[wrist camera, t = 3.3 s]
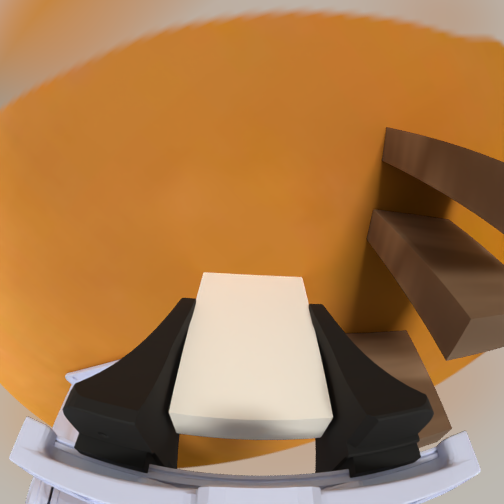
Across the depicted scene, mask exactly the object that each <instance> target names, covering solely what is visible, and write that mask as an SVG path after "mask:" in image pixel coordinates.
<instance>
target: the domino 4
mask: <svg viewBox="0 0 504 504" xmlns="http://www.w3.org/2000/svg"><path fill="white" fill-rule="evenodd" d="M345 334H346V335H347V336H348V337H349V338H350V339H351V341H352V342H353V343H354V344H355V345H356V346H357V347H358V348H359V349H360V350H361V351H362V352H363V353H364V354H365V355H366V356H367V357H369V358H370V359H371V360H372V361H373V362H374V363H375V364H377V365H378V366H379V367H381V368H382V369H383V370H385V371H386V372H387V373H389V374H390V375H392V376H393V377H395V378H396V379H398V380H399V381H401V382H403V383H404V384H406V385H408V386H409V387H411V388H413V389H416V390H418V391H420V392H422V393H424V394H426V395H427V397H428V399H429V402H430V404H431V406H432V409H433V412H434V415H433V417H432V419H431V421H430V422H429V423H428V424H427V425H426V426H425V427H424V428H423V429H422V430H421V431H420V432H419V433H418V435H419V438H420V441H419V442H418V443H417V445H418V448H420V447H423V446H426V445H429V444H432V443H435V442H437V441H438V440H440V439H441V438H442V437H443V436H444V435H445V434H446V433H447V432H448V431H450V430H451V429H452V427H451V425H450V422H449V420H448V417H447V415H446V413H445V410H444V408H443V406H442V403H441V401H440V399H439V396H438V394H437V392H436V389H435V387H434V385H433V383H432V381H431V379H430V376H429V374H428V372H427V370H426V368H425V366H424V364H423V362H422V360H421V358H420V356H419V354H418V352H417V350H416V348H415V346H414V344H413V342H412V340H411V338H410V336H409V335H408V333H407V331H406V330H405V331H390V332H372V333H345Z"/></svg>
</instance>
